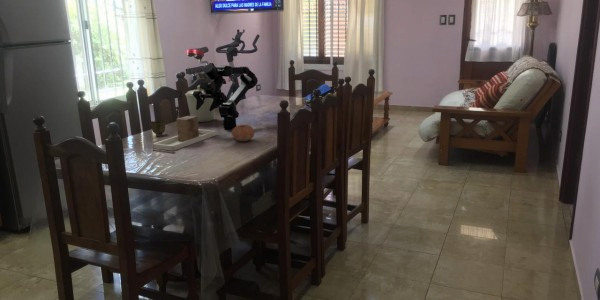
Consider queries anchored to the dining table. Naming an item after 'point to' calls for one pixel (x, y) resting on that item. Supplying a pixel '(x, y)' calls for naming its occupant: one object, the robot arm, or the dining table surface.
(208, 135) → the trap box
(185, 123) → the tan upright block
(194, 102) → the canister
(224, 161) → the dining table surface
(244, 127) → the orange pumpkin
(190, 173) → the dining table surface
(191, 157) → the dining table surface
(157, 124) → the cup
